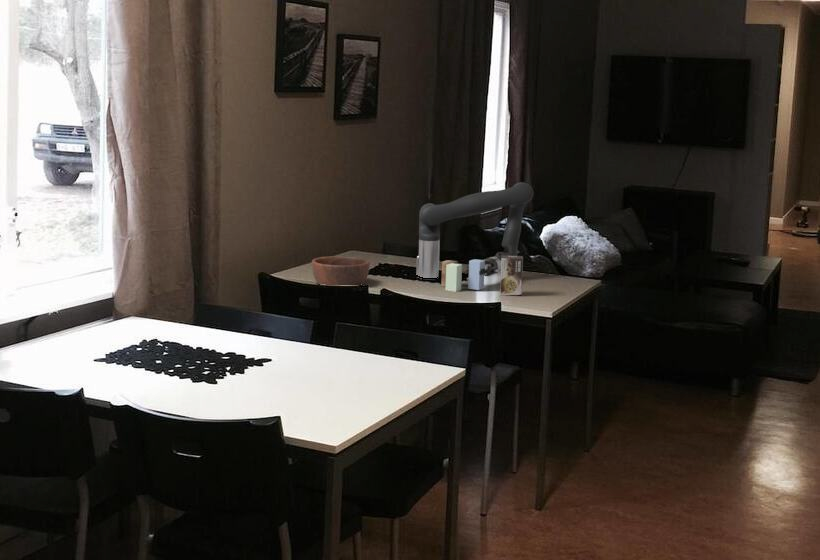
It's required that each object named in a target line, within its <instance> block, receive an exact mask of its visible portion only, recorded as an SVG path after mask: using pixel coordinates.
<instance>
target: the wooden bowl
mask: <svg viewBox="0 0 820 560" xmlns="http://www.w3.org/2000/svg"><path fill="white" fill-rule="evenodd" d="M370 265H371V262H370V260H369V259H367V258H363V257H357V256H347V255H346V256H344V255H343V256H342V255H336V256H335V255H334V256H333V255H332V256H320V257H317V258H316V257H315V258H313V259H312V260H311V269H312V275H313V278H314V280H315V282H316V283H317V285H319V284H326V285H361V284H363V285H364V284H365V283H366V281H367V279H368V276H369V271H370ZM361 286H362V285H361Z"/></svg>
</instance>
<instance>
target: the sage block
mask: <svg viewBox="0 0 820 560" xmlns="http://www.w3.org/2000/svg"><path fill="white" fill-rule="evenodd" d="M462 272H463V264H461V263H458V264H454V263H451V264H447V265H446V287H444V288H445V291H447V292H448V291H449V292H454V293H456V292H459V291H461V290H462V281H463V280H462V277H463V275H462V274H463V273H462Z"/></svg>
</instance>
